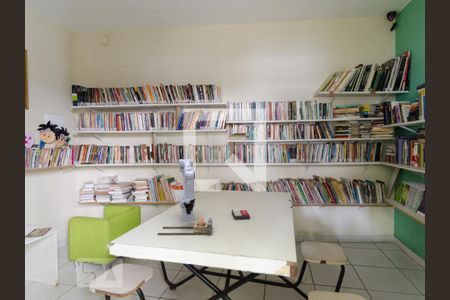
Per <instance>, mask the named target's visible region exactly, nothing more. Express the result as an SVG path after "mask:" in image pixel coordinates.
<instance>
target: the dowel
mask: <svg viewBox="0 0 450 300" xmlns="http://www.w3.org/2000/svg"><path fill="white" fill-rule="evenodd" d="M204 219H205V218H204V217H203V216H201V217H198V222H199V226H204V222H205V220H204Z"/></svg>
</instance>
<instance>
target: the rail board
mask: <svg viewBox="0 0 450 300" xmlns="http://www.w3.org/2000/svg"><path fill="white" fill-rule="evenodd" d="M207 222H208V224H207V233H193V232H158V233H157V236H208V237H211V236H212V231H213V217H208V221H207ZM193 227H194V226H163V227H162V229H163V230H170V229H171V230H178V229H179V230H187V229H189V230H191V229H192V230H193Z"/></svg>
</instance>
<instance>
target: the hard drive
mask: <svg viewBox="0 0 450 300" xmlns="http://www.w3.org/2000/svg"><path fill="white" fill-rule="evenodd" d="M231 216H232V218H233V220H235V221H243V220H244V221H245V220H246V221H247V220H251V215H250V213H249V212H248V210H247V209H246V208H233V209H231Z"/></svg>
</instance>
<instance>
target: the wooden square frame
mask: <svg viewBox="0 0 450 300" xmlns="http://www.w3.org/2000/svg"><path fill="white" fill-rule="evenodd" d="M207 224H208V221H204V226H199V221H196V222H195V223H194V224H193V225H194V226H192V227H193V229H192V230H193V232H192V233H207Z"/></svg>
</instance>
